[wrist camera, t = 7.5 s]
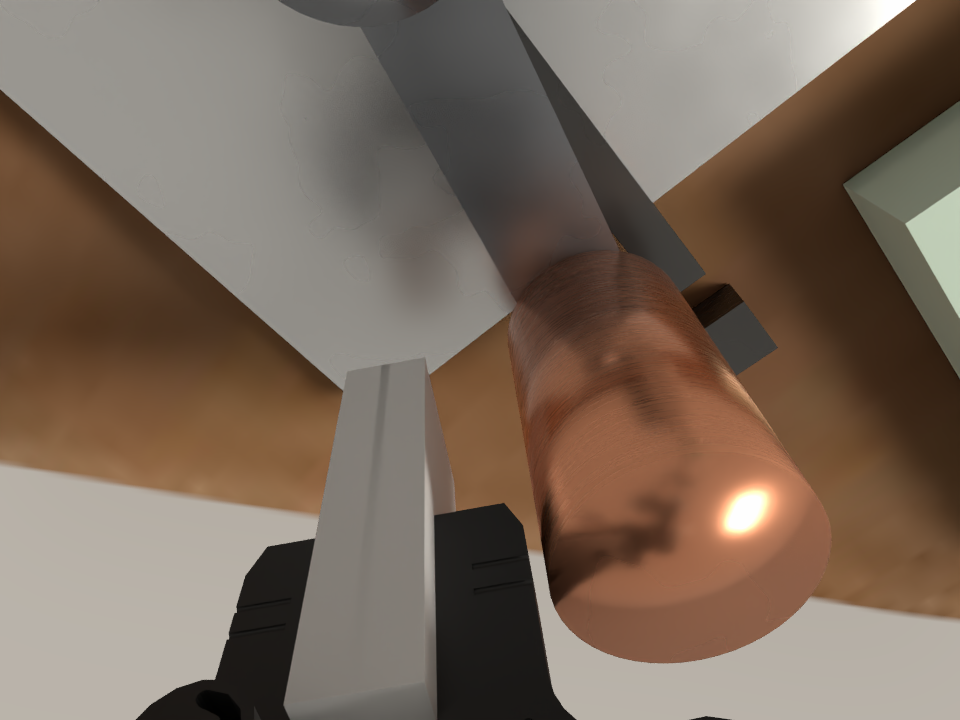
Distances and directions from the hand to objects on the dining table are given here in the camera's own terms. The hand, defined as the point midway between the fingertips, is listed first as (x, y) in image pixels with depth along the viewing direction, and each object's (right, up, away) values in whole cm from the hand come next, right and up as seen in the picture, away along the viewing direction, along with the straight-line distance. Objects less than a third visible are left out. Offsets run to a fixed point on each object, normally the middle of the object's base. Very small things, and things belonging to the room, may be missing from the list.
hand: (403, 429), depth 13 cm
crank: (+1, +6, +1) cm, 6 cm away
